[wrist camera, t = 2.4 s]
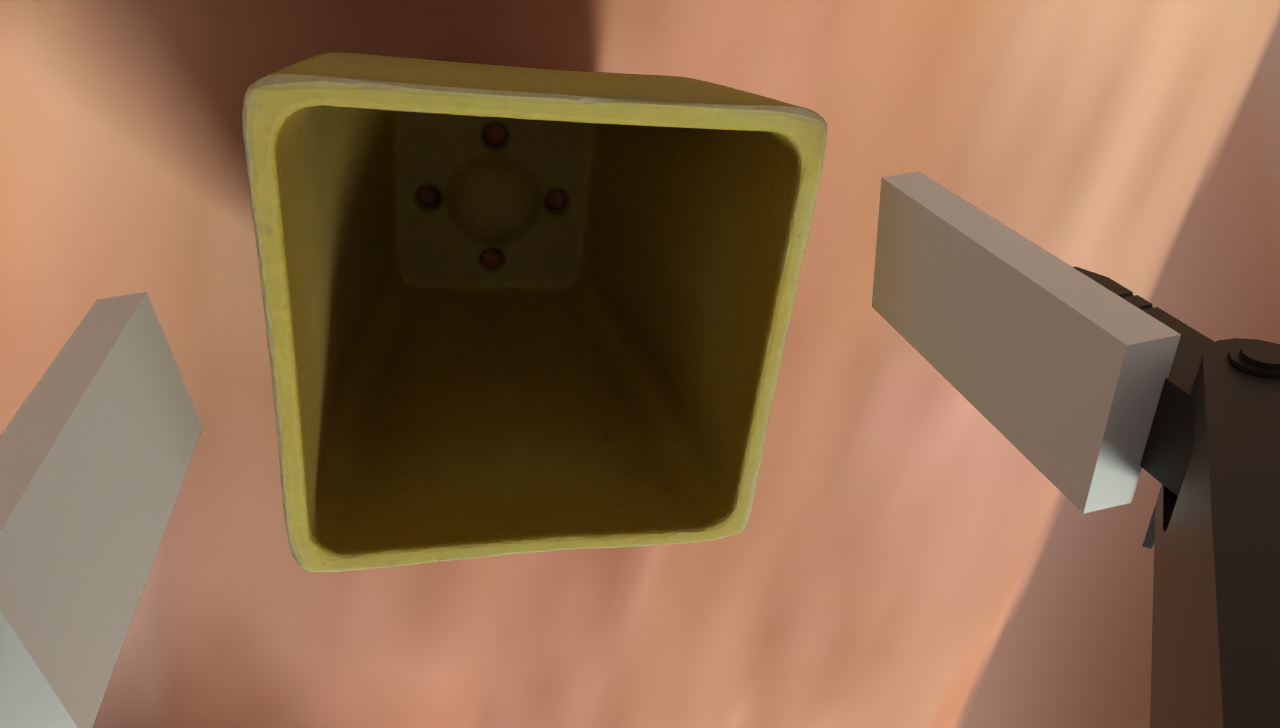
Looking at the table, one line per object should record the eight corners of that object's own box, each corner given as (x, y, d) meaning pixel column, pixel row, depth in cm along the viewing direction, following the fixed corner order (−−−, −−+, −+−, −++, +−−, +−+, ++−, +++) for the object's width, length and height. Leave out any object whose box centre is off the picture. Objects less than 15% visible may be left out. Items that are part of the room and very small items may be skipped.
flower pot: (684, 27, 21) (842, 112, 13) (644, 343, 25) (748, 545, 18) (303, -7, 19) (234, 73, 11) (327, 346, 23) (288, 579, 15)
